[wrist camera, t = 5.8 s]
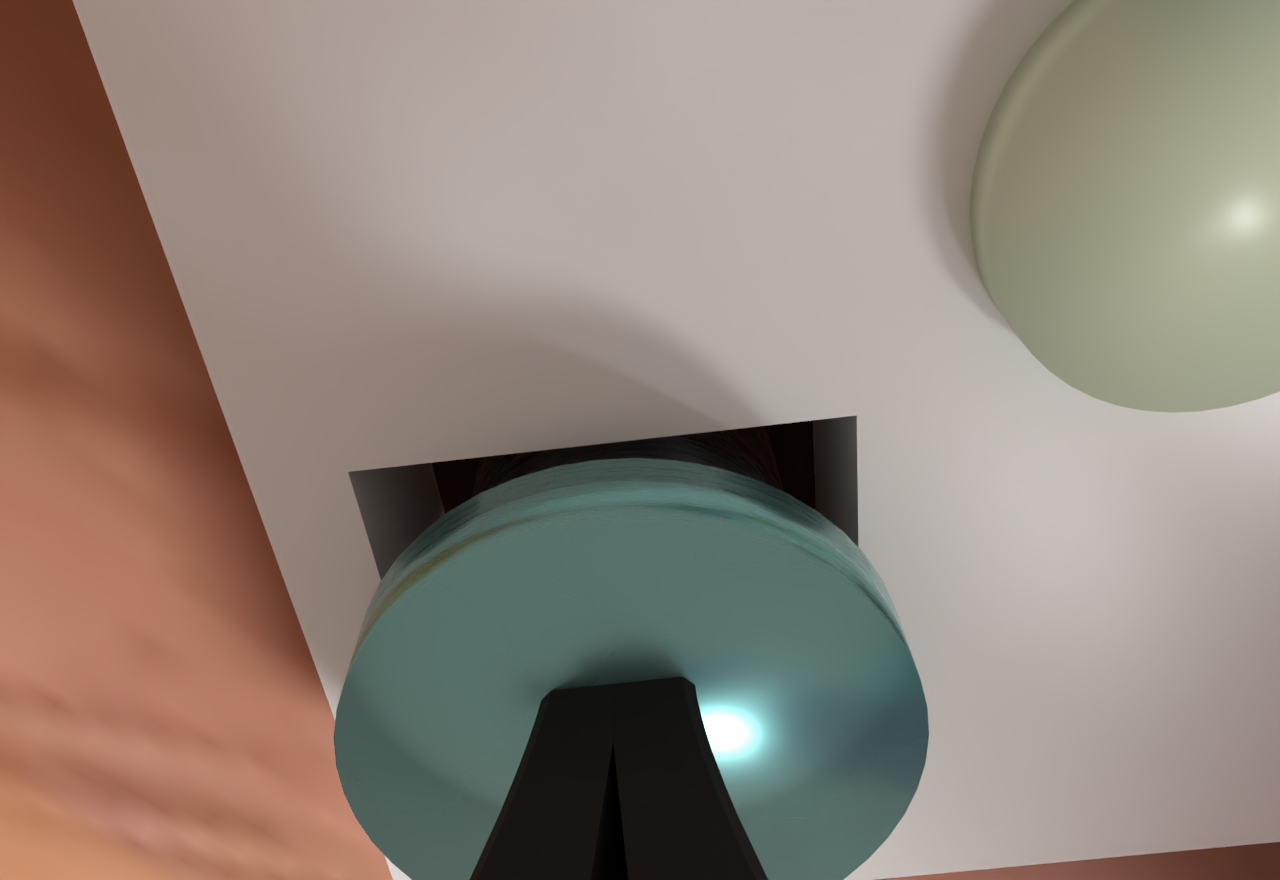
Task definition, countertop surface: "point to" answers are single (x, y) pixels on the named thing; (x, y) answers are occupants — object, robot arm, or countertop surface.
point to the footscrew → (635, 650)
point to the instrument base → (785, 331)
